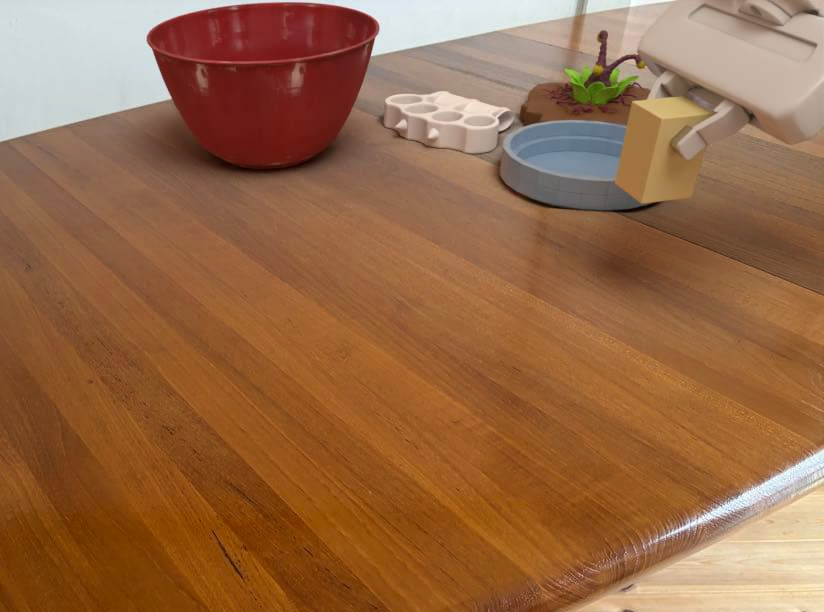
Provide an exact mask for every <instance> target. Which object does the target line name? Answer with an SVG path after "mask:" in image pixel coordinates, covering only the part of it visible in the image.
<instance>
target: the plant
mask: <svg viewBox="0 0 824 612" xmlns="http://www.w3.org/2000/svg"><path fill="white" fill-rule="evenodd" d="M608 38H609V33H608V31H607V30H606V29H605V30H600V32H598V34H597V35H596V41H597V42H598V43H599V44H600V46H599V52H598V56H597V61H596V62H595V65H594V66H593V68H592V69H591V68H589V67H588V66H586V65H584V66H583V67H582V69H581V74H580V73H579V72H577V71H576V70H573V69H571V68H567V67H566V68H565V69H564V73H566V74H567V75H568V77H569V79H570V80H569V81H568V82H558V81H556V82H545V83H544V82H543V83H537V84H536V85H534V86H533V87H532V89H530V90H529V92H528V96H527V102H525V103H523V104H521V106H520V114H519V120H521V121H523V127H525V126H528V125H531V124H535V123H542V122H549V121H561V120H585V121H599V122H607V123H615V124H620V125H625V126H627V123H628V119H629V114H630V109H631V105H632V101H640V100H647V98H648V96H649V94H650V92H651V89H649V88H646V87H642V85H640V83H638V82H636V81H637V80H638V79H639V78H640V75H631V76H628V77H626V78H623V79H621V80H619V81H618V79H619V76H620V73H621V70H620V68H618V66H620V65H621V64H622V63H624V62H625V61H628V60H634V61H635V67H636V68H637V69H639V70H642V69H646V68H645V67H647V66H646V65H645V64H644V62H643V61H642V59H641V58H640V56H639V55H638V54H636V53H633V54H625V55H623V56H621V57H620V58H617V59H616V60H615V61H614V62H612V63H611V64H609V65H607V54H608V52H607V50H608V47H607V45H608V41H607V40H608Z"/></svg>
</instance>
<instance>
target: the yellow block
mask: <svg viewBox="0 0 824 612" xmlns="http://www.w3.org/2000/svg"><path fill="white" fill-rule="evenodd" d="M713 115H715V113H714V112H712V111H710V110H708V109H706V108H705V107H703V106H701V105H699V104H697V103H695V102H693V101H691V100H689V99H688V98H686V97H684V96H678V97H668V98H659V99H649V100H640V101H632V105H631V109H630V114H629V119H628V123H627V128H626V133H625V137H624V142H623V147H622V151H621V156H620V161H619V165H618V170H617V175H616V179H615V184H616V185H618V186H619V187H620V188H622V189H623V190H624V191H626V192H627V193H628V194H629V195H631V196H632V197H633V198H635V199H636V200H637V201H639V202H640V203H641V204H644V203H651V204H653V203H660V202H667V201H668V202H669V201H675V200H685V199H691V198H692V197H693V194H694V190H695V187H696V183H697V180H698V176H699V173H700V169H701V165H702V161H703V159H704V154H705V151H706V147H707V146H706V147H704V148H703V149H702V150H701V151H700V152H699V153H698V154H697V155H696V156H694V157H693V158H692V159H690V160H686V159H684V158H683V157H681V156H680V155H678V154H677V153H676V152H675V151H674V149H673V148H672V147H671V146H670V141H671V139H672V138H673V137H674V136H675V135H677V134H678V132H679V131H680V130H681V129H682V128H684V127H685V126H686V125H688V126H690V127H691V128H692V127H694V126H695V125H697V124H699V123H701V122H703V121H704V120H706V119H708V118H710V117H711V116H713ZM652 202H653V203H652Z"/></svg>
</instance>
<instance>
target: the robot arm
mask: <svg viewBox="0 0 824 612" xmlns="http://www.w3.org/2000/svg"><path fill="white" fill-rule="evenodd" d="M636 53H637V55H639V56H640V58H641V59H642V61H643V62H644V64H645V65H646V66H645V67H646V68H647V69H648V70H649V72H650V73H651V74H652V75H654V76H655V77H657V78H656V80H655V81H654V83H653V86H652V87H651V89H650V90H651V92H650V94H649V96H648V98H647V100H649V99H659V98H668V97H678V96H683V95H684V94H685V93H686V92H688V93H690V94H692V95H694V96H696V97H698V98H700V99H702V100H704V101H705V102H707V103H709V104H711V105H713V106H715V107H716V108H715V109H714V112H715V113H716V114H715V115H713V116H711V117H710V118H708V119H706V120H704V121H703V122H701V123H699V124H697V125H695V126H694V127H692V128H691V127H690V126H688V125H686V126H685V127H684V128H682V129H681V130H680V131H679V132H678V134H677V135H675V136H674V137H673V138H672V139H671V141H670V146H671V147H672V148H673V149H674V151H675V152H676V153H677V154H678V155H680V156H681V157H683V158H684V159H686V160H690V159H692V158H693V157H694V156H696V155H697V154H698V153H699V152H700V151H701V150H702V149H703V148H704V147H707V146H710V145H712V144H716V143H717V142H720V141H722V140H724V139H727V138H729V137H732V136H734V135H736V134H738V132H740V131H741V130H742V129H743V128H744V127H745V126H746V125H750V126H752V127H753V128H756V129H758V130H760V131H761V132H763V133H765V134H767V135H769V136H771V137H773V138H775V139H777V140H779V141H781V142H783V143H784V144H786V145H788V146H795V145H798V144H801V143H804V142H806V141H808V140H811V139H813V138H814V137H815V136H817V135H818V134H819V133H820V132H821V131H822V130H824V0H675V1H673V3H671V4H670V6H669V7H667V9H665V11H663V13H662V14H661V15H660V16H658V18H657V19H656V20H655V21H654V22H653V23H652V24H651V25H650V26H649V28H648V29H647V30H645V32H644V33H643V35H642V36H641V38H640V40H639V42H638V46H637V48H636Z"/></svg>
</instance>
